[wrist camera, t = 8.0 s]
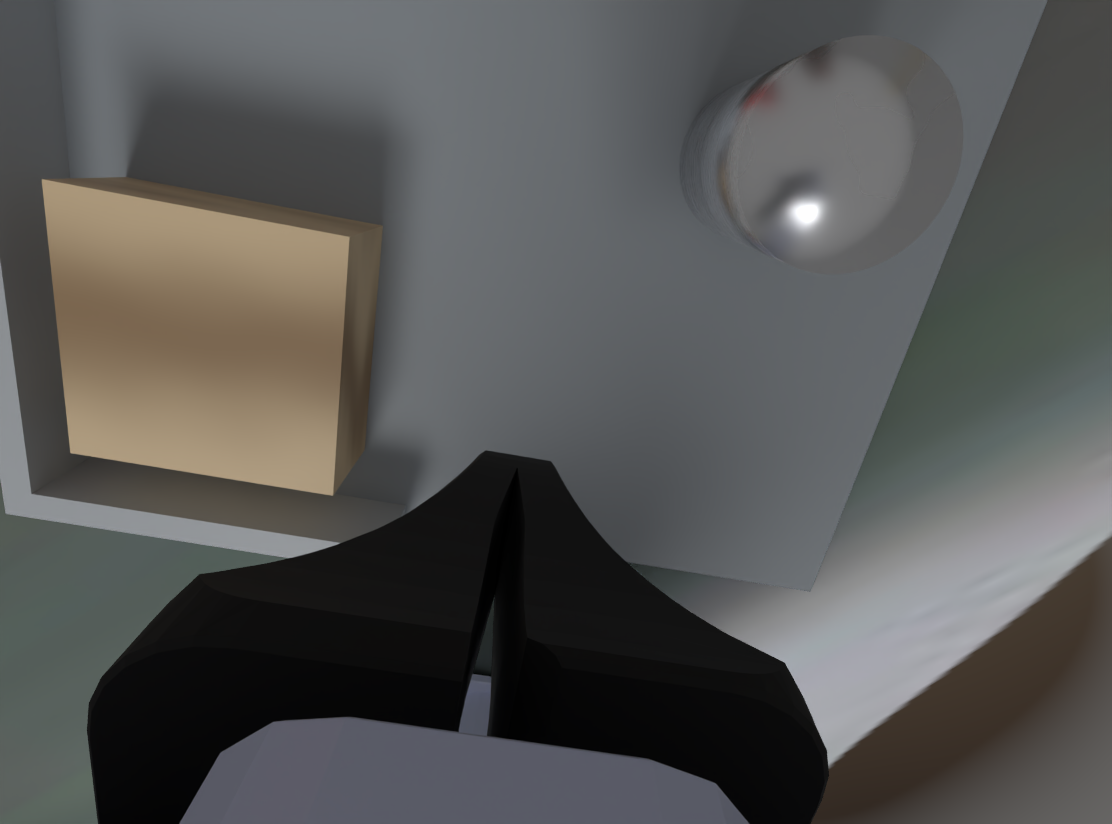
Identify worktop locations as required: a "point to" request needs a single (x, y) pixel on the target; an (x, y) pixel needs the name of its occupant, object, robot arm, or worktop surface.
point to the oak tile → (212, 331)
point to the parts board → (491, 253)
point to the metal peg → (828, 155)
